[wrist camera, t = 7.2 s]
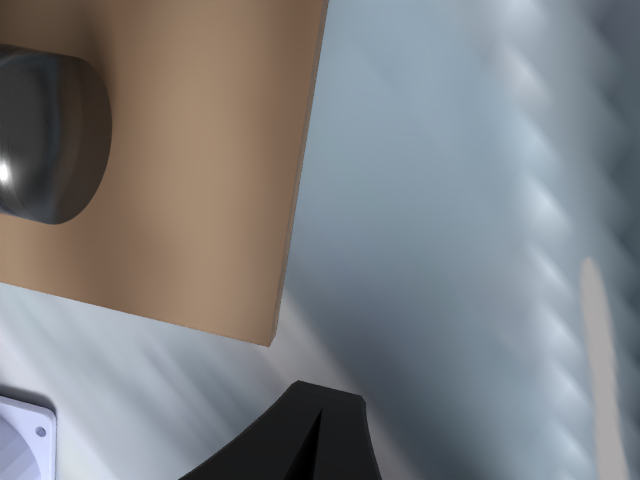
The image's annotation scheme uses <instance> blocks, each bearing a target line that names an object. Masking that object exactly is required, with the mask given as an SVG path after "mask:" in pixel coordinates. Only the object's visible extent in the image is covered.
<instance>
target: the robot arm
mask: <svg viewBox="0 0 640 480" xmlns="http://www.w3.org/2000/svg"><path fill="white" fill-rule="evenodd" d="M42 428H44V429H45V430H43V429H42ZM55 456H56V417H55V415H54V413H53V412H52V411H51V410H49V409H47V408H44V407H40V406H36V405H32V404H29V403H25V402H21V401H17V400H14V399H10V398H6V397H2V396H0V480H55ZM178 480H382V478H381V475H380V472H379V468H378V465H377V462H376V458H375V455H374V451H373V447H372V443H371V439H370V434H369V429H368V423H367V416H366V402H365V401H364V399H363V398H362V396H360V395H356V394H352V393H348V392H343V391H339V390H335V389H331V388H327V387H323V386H319V385H315V384H311V383H307V382H303V381H299V380H298V381H296V382H295V383H293V384H291V386H290V387H289V388H288V389H287V390H286V391H285V392H284V394H283V395H282V396H281V397H280V398H279V399H278V400H277V401H276V402H275V403H274V404H273V405H272V406H271V407H270V408H269V409H268V410H267V411H266V412H265V413H264V414H262V415H261V416H260V417H259V418H258V419H257V420H256V421H255V422H253V423H252V424H251V425H250V426H249V427H248V428H247V429H245V430H244V431H243V432H242V433H241V434H240V435H239V436H237V437H236V438H235V439H234V440H232V441H231V442H230V443H229V444H227V445H226V446H225V447H223V448H222V449H221V450H219V451H218V452H217V453H215V454H214V455H213V456H212V457H210V458H209V459H208V460H206V461H205V462H204V463H202V464H201V465H199V466H198V467H196V468H195V469H193V470H192V471H191V472H189V473H188V474H186V475H185V476H183V477H181V478H180V479H178Z"/></svg>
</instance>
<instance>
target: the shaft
mask: <svg viewBox="0 0 640 480" xmlns="http://www.w3.org/2000/svg"><path fill="white" fill-rule="evenodd" d="M111 140H112V113H111V105H110V101H109V96H108V93H107V90H106V87H105V85H104V82H103V80H102V78H101V77H100V75H99V73H98V72H97V71H96V69H95V68H94V67H93V66H92V65H91V64H90V63H88V62H87V61H85V60H83V59H81V58H78V57H74V56H68V55H63V54H58V53H52V52H47V51H42V50H37V49H31V48H26V47H21V46H15V45H10V44H0V213H1V214H5V215H9V216H14V217H18V218H23V219H27V220H31V221H36V222H40V223H45V224H51V225H57V224H62V223H65V222H68V221H69V220H71V219H73V218H74V217H76V216H77V215H78V214H79V213H80V212H81V211H83V210H84V209H85V207H86V206H87V205H88V204H89V202H90V201H91V199H92V198H93V196H94V195H95V193H96V191H97V189H98V187H99V185H100V183H101V181H102V178H103V176H104V173H105V170H106V166H107V163H108V159H109V154H110V148H111Z"/></svg>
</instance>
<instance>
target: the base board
mask: <svg viewBox="0 0 640 480" xmlns="http://www.w3.org/2000/svg"><path fill="white" fill-rule="evenodd" d="M328 2H329V0H0V44H10V45H15V46H21V47H26V48H31V49H37V50H42V51H47V52H52V53H58V54H63V55H68V56H74V57H78V58H81V59H83V60H85V61H87V62H88V63H90V64H91V65H92V66H93V67H94V68H95V69H96V71H97V72H98V73H99V75H100V77H101V78H102V80H103V82H104V85H105V87H106V90H107V93H108V96H109V101H110V105H111V113H112V140H111V148H110V154H109V159H108V163H107V166H106V170H105V173H104V176H103V178H102V181H101V183H100V185H99V187H98V189H97V191H96V193H95V195H94V196H93V198H92V199H91V201H90V202H89V204H88V205H87V206H86V207H85V209H84V210H83V211H81V212H80V213H79V214H78V215H77V216H76V217H74V218H73V219H71V220H69V221H68V222H65V223H62V224H57V225H51V224H45V223H40V222H36V221H31V220H27V219H23V218H18V217H14V216H9V215H5V214H1V213H0V282H2V283H6V284H10V285H14V286H19V287H23V288H27V289H31V290H35V291H39V292H43V293H47V294H52V295H56V296H60V297H64V298H68V299H72V300H76V301H80V302H85V303H89V304H93V305H97V306H101V307H105V308H109V309H113V310H118V311H122V312H126V313H130V314H134V315H138V316H142V317H147V318H151V319H155V320H159V321H163V322H167V323H171V324H175V325H180V326H184V327H188V328H192V329H196V330H200V331H204V332H208V333H213V334H217V335H221V336H225V337H229V338H233V339H237V340H241V341H246V342H250V343H254V344H258V345H262V346H266V347H269V346H270V344H271V342H272V340H273V338H274V337H275V334H276V328H277V322H278V315H279V309H280V303H281V297H282V290H283V284H284V278H285V272H286V265H287V259H288V253H289V246H290V240H291V234H292V228H293V221H294V215H295V209H296V202H297V196H298V190H299V184H300V177H301V171H302V165H303V159H304V152H305V146H306V140H307V133H308V127H309V121H310V115H311V108H312V102H313V96H314V89H315V83H316V77H317V71H318V64H319V58H320V52H321V45H322V39H323V33H324V27H325V20H326V14H327V8H328Z"/></svg>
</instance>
